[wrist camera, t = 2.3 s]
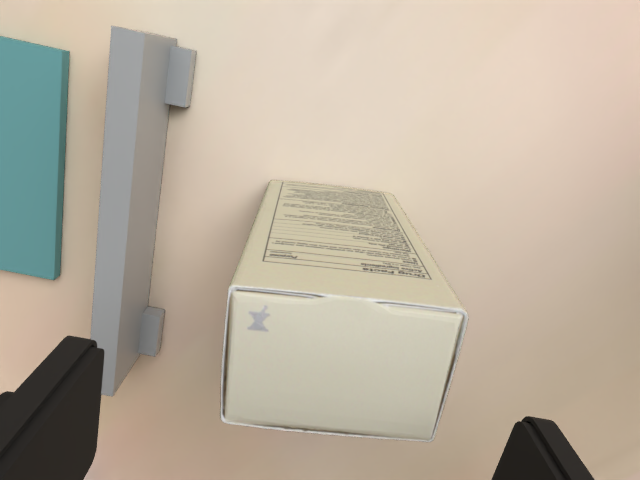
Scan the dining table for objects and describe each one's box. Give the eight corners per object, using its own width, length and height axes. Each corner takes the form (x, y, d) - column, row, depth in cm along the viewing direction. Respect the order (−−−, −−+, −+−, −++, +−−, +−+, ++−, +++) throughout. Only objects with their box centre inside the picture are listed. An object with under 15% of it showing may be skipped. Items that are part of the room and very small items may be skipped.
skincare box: (261, 259, 25) (204, 427, 13) (269, 176, 23) (213, 282, 12) (387, 275, 25) (438, 453, 14) (402, 193, 24) (473, 313, 12)
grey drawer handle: (197, 43, 21) (169, 38, 18) (159, 353, 27) (132, 400, 23) (128, 28, 21) (86, 19, 18) (104, 342, 27) (67, 388, 23)
